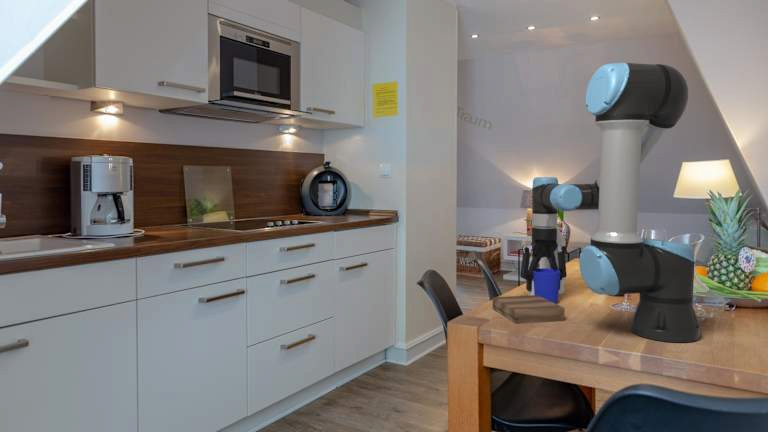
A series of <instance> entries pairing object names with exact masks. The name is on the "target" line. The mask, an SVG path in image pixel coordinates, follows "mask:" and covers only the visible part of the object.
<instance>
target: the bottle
mask: <svg viewBox="0 0 768 432" xmlns="http://www.w3.org/2000/svg"><path fill="white" fill-rule="evenodd" d="M555 228H556V229H557V240H556V242H557V244H558V245H562V246H565V247H566V240H565V238H564V236H563V234H562V232H561V231H560V229H559V227H558V225H557V226H556V227H555ZM557 253H558V252H557V249H556V250H555V252H554V255H555V258H556V259H555V260H556V263H557V266H558V254H557ZM538 267H539V268H538V269H541V268H545V269H551V267H550V264H549V261H548V259H547V257H543V258H541V260H540V261H539V266H538ZM558 269H559V266H558ZM565 279H566V277H565V278H562V280H560V290H559V292H558V295H563V294H564V293H565Z"/></svg>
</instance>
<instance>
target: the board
mask: <svg viewBox="0 0 768 432" xmlns="http://www.w3.org/2000/svg"><path fill="white" fill-rule="evenodd" d="M492 310H494V311H496V312H497V313H498V314H500V315H502V316H503V317H504V318H506V319H508V320H509V321H511V322H513V323H514V324H530V323H548V322H562V321H563V322H564V321H565V307H564V306H562V305H559V304H557V303H553V302H551V301H549V300H547V299H544V298H542V297H540V296H538V295H530V296H529V295H513V296H512V295H511V296H509V295H508V296H494V297H492Z"/></svg>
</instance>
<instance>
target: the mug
mask: <svg viewBox="0 0 768 432" xmlns="http://www.w3.org/2000/svg"><path fill="white" fill-rule="evenodd" d="M533 281H534V295H538V296H540V297H542V298H544V299H547V300H549V301H551V302H553V303H555V304H557V302H558V301H557V300H559V294H558V292H559V282H560V271H559V270H556V272H555V271H554V270H553V269H545V268H541V269H539V268H537V269H536V271H533Z"/></svg>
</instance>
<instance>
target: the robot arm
mask: <svg viewBox="0 0 768 432" xmlns="http://www.w3.org/2000/svg"><path fill="white" fill-rule="evenodd" d="M688 100H689V88H688V83H687V81H686V79H685V77H684V75H683V74H682V73H681V72H680V71H679V70H678V69H677V68H675V67H674V66H671V65H668V64H662V63H659V64H657V63H656V64H649V63H637V62H636V63H634V62H633V63H632V62H618V63H617V62H616V63H615V62H614V63H605V64H603V65H601V66H600V67H599V68H598V69H596V71H595V72H594V73H593V75H592V77H591V78H590V80H589V82H588V85H587V87H586V93H585V106H586V109H587V111H588V112H589V113H590V114H591V115H592V116H595V121H594V123H595V124H596V126H597V127H598V128H599V129H600V130H601V142H600V143H601V144H600V146H601V147H600V163H599V164H600V165H599V166H600V169H599V175H598V177H597V178H596V180H595V181H594V183H559V179H558V178H557V177H555V176H554V177H553V176H537V177H534V179H533V180H532V188H531V193H532V194H531V195H532V196H531V212H532V213H531V218H532V219H531V225H532V228H531V243H530V245H527V246H524V245H523V246H522V247H521V250H522V260H521V268H520V274H519V275H520V278H521V279H524V280H525V281H526V282H525V287H526V288H525V289H526V291H528V296H530V295H534V281H533V271H536V269H538V267H539V266H538V265H540V260H541V258H543V257H547V259H548V261H549V264H550V267H551V269H553V270H554V271H555V272H556V270H559V271H560V280H562V278H565V279H566V278H567V264H566V252H567V251H566V249H567V247H566V245H565V246H562V245H558V244H557V242H556V240H557V229H556V228H555V227H556V226H557V227H558V211H561V212H569V211H570V212H571V211H583V210H584V211H585V210H596V211H597V210H598V213H597V214H598V217H597V231H596V232H595V233H593V234H592V235H591V236H590V245H587V246H585V247H584V248H582V250H581V253H579V254H580V255H579V261H578V263H579V264H578V265H579V270H580V271H579V272H580V275H581V277H582V279H583V281H584V283H585V286H586V287H587V288H588V289H589V290H590V291H592V292H593V293H594V294H597V295H610V296H616V295H628V294H629V295H631V294H639V300H638V304H637V306H636V309H635V311H634V313H633V316H632V317H633V318H632V319H631V321H630V331H631V333H633V334H634V335H637V336H640V337H643V338H646V339H650V340H654V341H659V342H668V343H669V342H670V343H692V342H696V341H698V340H700V337H701V328H700V325H699V322H698V321H699V320H698V319H697V315H696V314H697V313H696V311H695V309H694V304H693V303H694V280H695V279H694V277H695V265H696V261H695V250H694V247H693V246H692V245H690V244H689V243H683V242H679V241H678V242H676V241H671V240H665V239H664V240H662V239H657V238H646V237H645V238H644V237H643V238H642V237H641V236H640V235H639V233H638V215H639V195H640V194H639V193H640V176H641V175H640V171H641V165H642V164H643V162H645V160H646V159H647V157H648V156H649V155H650V153H651V151H652V150H653V149H654V148H655V146H656V144H658V142H659V141H660V139H661V138H662V137H663V135H664V133H665V132H666V131H667V130H670V129H673V128H674V127H675V126H676V125H677V123H678V122H679V121H680V119H681V118H682V116H683V114H684V112H685V109H686V107H687V105H688ZM556 249H557V252H558V253H557V254H558V266H559V269H558V266H557V263H556V260H555V259H556V258H555V255H554V252H555V250H556ZM531 252H533V253H532V257H531ZM530 258H532V260H531V261H530ZM559 290H560V282H559ZM558 300H559V299H558ZM558 300H557V302H558Z"/></svg>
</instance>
